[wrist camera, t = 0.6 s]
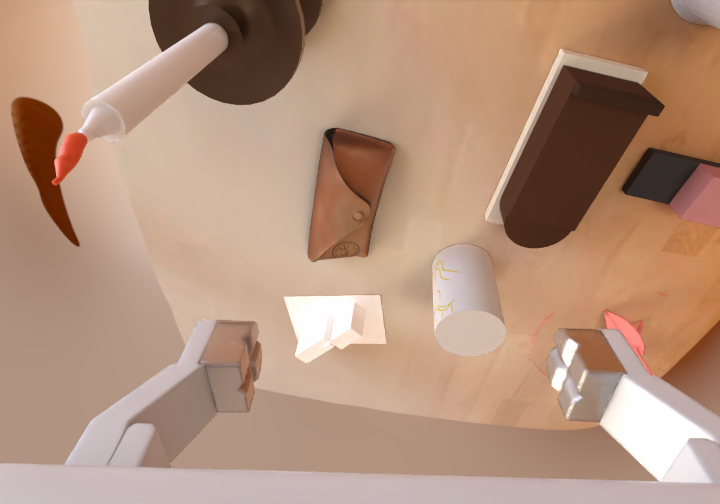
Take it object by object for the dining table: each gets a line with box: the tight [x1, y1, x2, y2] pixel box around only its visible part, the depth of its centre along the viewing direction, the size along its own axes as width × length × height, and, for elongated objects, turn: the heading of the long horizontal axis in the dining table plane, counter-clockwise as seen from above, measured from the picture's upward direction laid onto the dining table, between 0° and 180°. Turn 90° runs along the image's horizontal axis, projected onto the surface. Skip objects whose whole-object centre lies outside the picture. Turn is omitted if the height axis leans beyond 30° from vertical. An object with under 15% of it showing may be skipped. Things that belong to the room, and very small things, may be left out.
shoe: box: [485, 49, 665, 248], centre depth 47 cm, size 20×8×8 cm, turn 169°
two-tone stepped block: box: [622, 148, 720, 228], centre depth 49 cm, size 11×5×4 cm, turn 79°
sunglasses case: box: [308, 128, 396, 262], centre depth 55 cm, size 18×7×7 cm, turn 170°
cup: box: [432, 244, 506, 356], centre depth 57 cm, size 8×8×12 cm
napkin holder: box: [284, 295, 386, 364], centre depth 69 cm, size 15×11×6 cm
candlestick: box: [52, 0, 322, 185], centre depth 29 cm, size 11×11×35 cm
